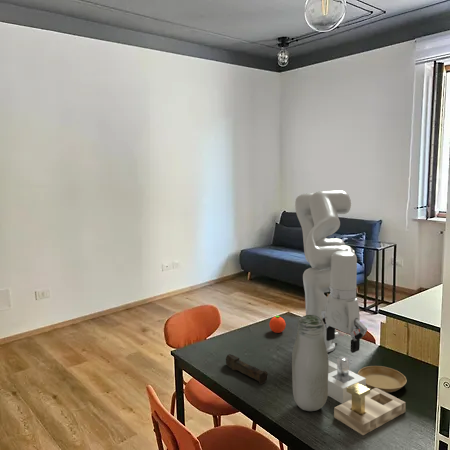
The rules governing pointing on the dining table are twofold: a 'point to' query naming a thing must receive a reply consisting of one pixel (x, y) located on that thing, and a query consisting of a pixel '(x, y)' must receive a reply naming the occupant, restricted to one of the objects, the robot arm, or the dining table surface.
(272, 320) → the clementine
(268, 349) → the dining table surface
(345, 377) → the clear glass vial
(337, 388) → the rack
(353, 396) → the gold square peg
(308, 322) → the glass bottle
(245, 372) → the hand tool
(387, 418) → the socket block
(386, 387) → the plant saucer
